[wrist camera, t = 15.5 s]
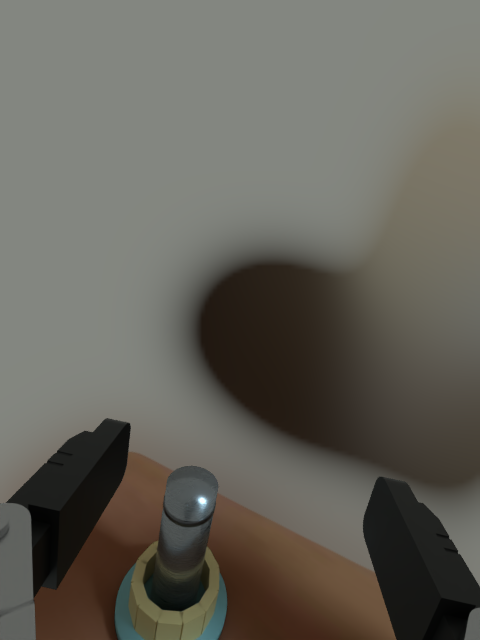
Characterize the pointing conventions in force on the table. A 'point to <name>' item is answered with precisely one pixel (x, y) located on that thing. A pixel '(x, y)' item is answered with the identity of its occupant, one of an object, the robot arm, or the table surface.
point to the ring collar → (162, 625)
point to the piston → (183, 537)
